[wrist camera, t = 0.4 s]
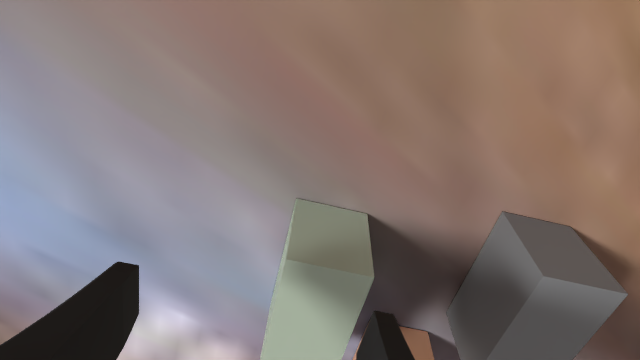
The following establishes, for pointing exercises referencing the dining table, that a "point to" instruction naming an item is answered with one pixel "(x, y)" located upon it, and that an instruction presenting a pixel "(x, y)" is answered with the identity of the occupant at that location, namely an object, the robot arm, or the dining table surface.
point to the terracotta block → (414, 343)
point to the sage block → (319, 284)
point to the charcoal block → (531, 294)
